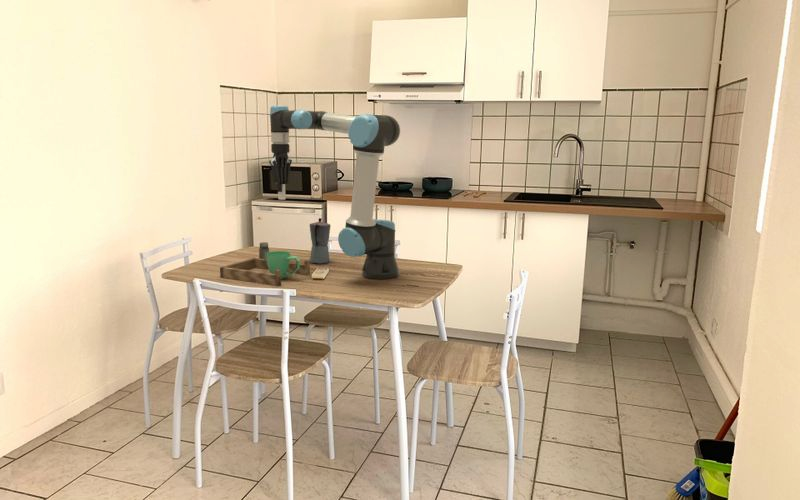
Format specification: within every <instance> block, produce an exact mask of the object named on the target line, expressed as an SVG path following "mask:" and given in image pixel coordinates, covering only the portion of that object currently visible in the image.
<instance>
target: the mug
mask: <svg viewBox="0 0 800 500" xmlns="http://www.w3.org/2000/svg"><path fill="white" fill-rule="evenodd" d="M266 260H267V264H268V268H269V270H268V271H269V273H270V274H275V270H277V269H278V270H281V280H282V279H285V278H287V277H290V276H293V275H294V274H296V273H295V272H296V271H297V270H298V269H299V267H300V264H301V259H300V257H299V256H296V255H295V256H294V255H293V256H291V252H290V251H286V250H285V251H284V250H282V251H281V250H273V251H269V252H268V253H266ZM292 260H293V261H294V260H295V262H296V263H297V264H296V267H295V269H294V270H293V271H292V272H291V273H288V272H287V270H288V266H289V262H290V261H292Z"/></svg>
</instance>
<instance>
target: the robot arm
mask: <svg viewBox="0 0 800 500" xmlns="http://www.w3.org/2000/svg"><path fill="white" fill-rule="evenodd" d="M269 109H270V110H269V111H270V112H269V114H270V115H269V119H270V137H271V138H270V142H271V143H272V144H270V145H271V147H270V149H271V150H270V151H271V153H272V154H273V155H272V160H269V163H268V164H270V168H271V173H272V180H273V183H274V184H275V185H277V197H278V200H281V201H282V200H286V199H287V197H286V191H287V190H286V187H287V185H289V184H288V182H289V181H290V174H291V165H292V161H293V160H292V159H290V158H289V155H288V154H289V153H290V144H289V143H290V130H319V131H325V132H326V131H328V132H333V133H340V134H346V135H348V139H349V140H350V143H351V144H352V145H353V146H352V150H353V152H354V153H355V155H356V157H355V166H354V176H353V184H352V185H353V187H352V197H351V198H352V199H351V207H350V208H351V209H350V216H349V217H348V218H347V219H346V220H345V227H344V228H342V229H341V230H340V231H339V233H338V235H337V237H338V239H337V240H338V241H337V242H338V245H339V248H340V249H341V250H342V252H343V253H344V254H345V255H346V256H348V257H351V258H354V257H362V256H365V255H366V257H365V260H364V263H363V266H362V270H361V271H362V273H361V274H362V277H365V278H367V279H371V280H372V279H374V280H387V279H394V278H397V277H398V276H399V275H400V271H399V270H400V269H399V266H398V263H397V260H396V257H395V256H396V254H395V253H396V250H395V249H396V248H395V247H396V243H395V242H396V227H395V226H396V224H395V223H394V221H392V220H387V219H386V220H385V219H377V218H376V219H375V218H374V207H375V199H376V198H375V197H376V189H377V183H378V172H379V162H380V157H381V156H383V155H384V154H385V147H389V146H392V145H394V144H395V143H396V142H397V141H398V140H399V138H400V136H401V126H400V124H399V122H398V121H397V119H396V118H394V117H392V116H390V115H386V114H385V115H384V114H383V115H382V114H370V113H369V114H368V113H366V114H359V115H357V116H356V115H352V114H344V113H343V114H342V113H336V112H327V111H325V110H322V111H321V110H319V111H318V110H313V111H312V110H305V109H294V110H289V106H287V105H271V106H270V108H269Z"/></svg>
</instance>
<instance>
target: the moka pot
mask: <svg viewBox="0 0 800 500" xmlns="http://www.w3.org/2000/svg"><path fill="white" fill-rule="evenodd" d="M309 231H310V240H311V251H310V256H309V258H310V259H309V260H310V264H311V263H312V264H328V263H330V261H331V260H330V251H329V240H330V233H331V224H330V223H327V222H324V221H323V219H322V218H321V217H319V218H318V221H316V222H311V223H309Z"/></svg>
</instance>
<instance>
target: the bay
mask: <svg viewBox="0 0 800 500" xmlns="http://www.w3.org/2000/svg"><path fill="white" fill-rule="evenodd" d="M268 252H270V248H269V243H268V242H267V241H266V242H264V241H263V242H259V248H258V256H259V257H253V258H249V259H245V260H242V261H238V262H235V263H234V262H233V263H230V264H227V265H224V266H220V267H219V275H220V278H222V279H223V278H224V279H230V280H237V281H243V282H250V283H256V282H257V283H258V284H263V285H271V286H276V287H280V286H282V279H281V270H278V269H277V270H275V274H271V273H270V272H262V271H255V270H253V269H261V270H267V271H269V268H268V264H267V260H266V253H268ZM296 264H297V262H296V263H295V262H290V261H289V266H288V270H287V274H288V273H291V272H292V271H293V270H294V269H295V267H296ZM294 274H298V275H303V276H309V275H311V262H310V259H305V260H304V264H303V263H300V267H299V269H298V270H297V271H296V272H295V273H294Z"/></svg>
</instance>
